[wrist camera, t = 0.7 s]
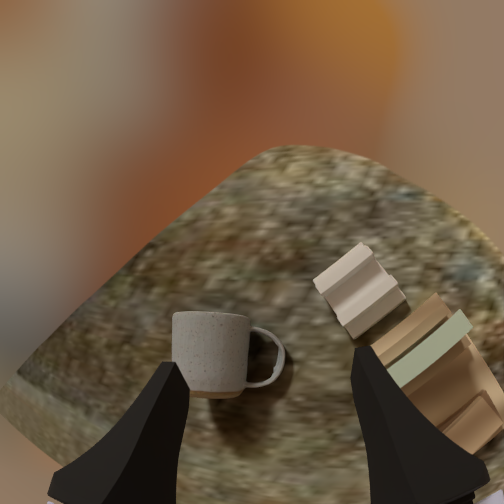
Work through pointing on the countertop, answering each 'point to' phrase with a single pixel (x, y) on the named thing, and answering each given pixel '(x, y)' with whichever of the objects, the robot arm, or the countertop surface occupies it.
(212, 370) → the ceramic mug
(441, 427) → the offcut low
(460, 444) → the offcut top
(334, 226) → the countertop surface
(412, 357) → the pale green square slab
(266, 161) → the countertop surface
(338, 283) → the stand
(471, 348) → the rack
